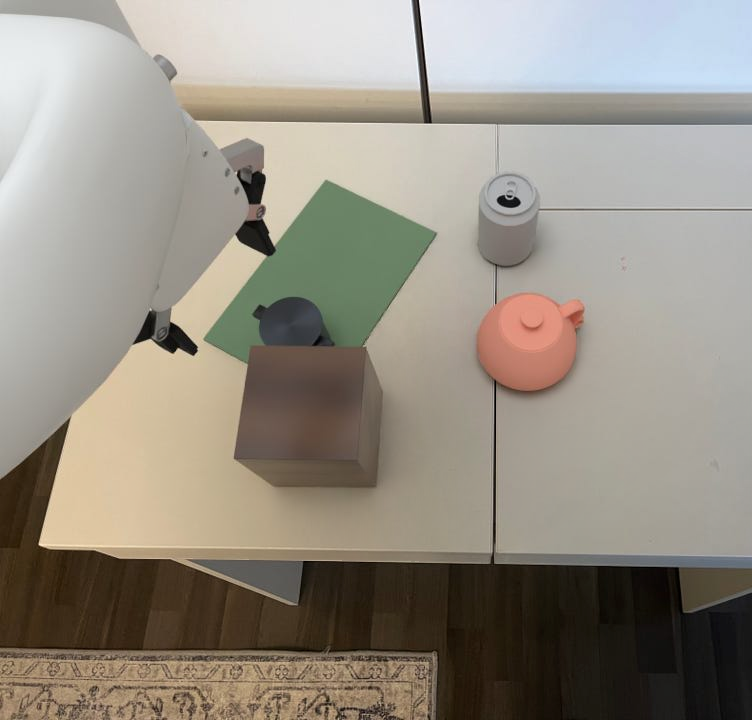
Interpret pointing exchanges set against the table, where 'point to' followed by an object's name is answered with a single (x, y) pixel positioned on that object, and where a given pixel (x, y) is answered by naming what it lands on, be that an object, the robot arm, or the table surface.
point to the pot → (292, 324)
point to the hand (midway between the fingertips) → (220, 294)
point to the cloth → (329, 270)
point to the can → (507, 218)
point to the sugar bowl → (529, 340)
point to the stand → (310, 417)
